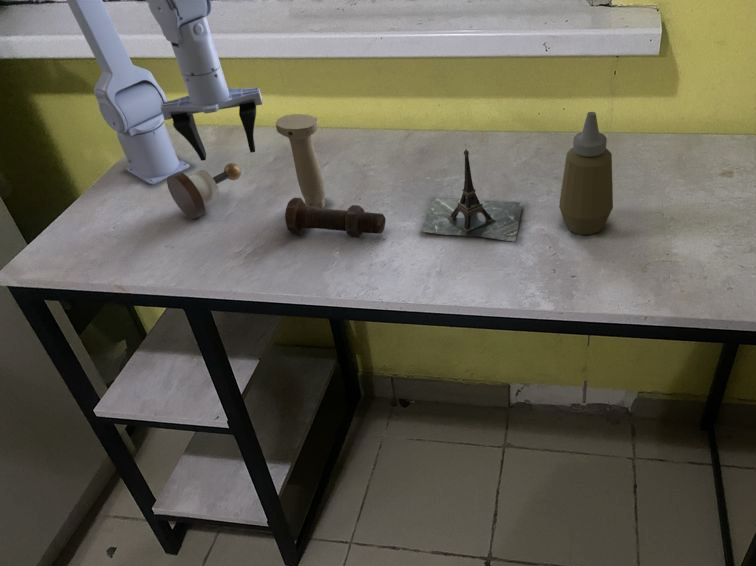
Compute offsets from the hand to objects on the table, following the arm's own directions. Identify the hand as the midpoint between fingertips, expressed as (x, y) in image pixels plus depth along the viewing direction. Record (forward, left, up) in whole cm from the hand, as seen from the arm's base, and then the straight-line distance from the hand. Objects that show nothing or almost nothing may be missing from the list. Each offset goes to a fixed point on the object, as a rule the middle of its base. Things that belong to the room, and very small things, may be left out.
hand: (228, 153), depth 112 cm
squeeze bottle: (+49, +28, -10) cm, 57 cm away
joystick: (-5, -2, -10) cm, 11 cm away
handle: (+10, +7, -10) cm, 16 cm away
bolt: (+19, +4, -10) cm, 22 cm away
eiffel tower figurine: (+34, +19, -10) cm, 40 cm away
